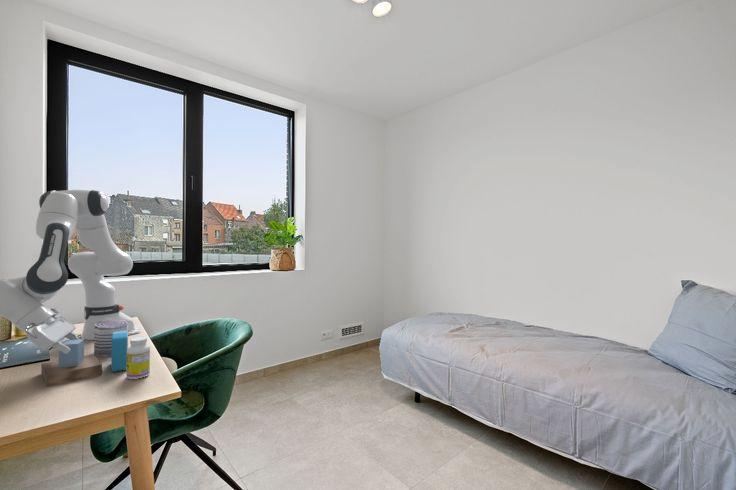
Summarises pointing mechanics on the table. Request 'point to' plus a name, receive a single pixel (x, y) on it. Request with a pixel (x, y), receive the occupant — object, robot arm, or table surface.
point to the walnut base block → (70, 371)
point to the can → (106, 335)
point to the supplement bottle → (138, 358)
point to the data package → (119, 351)
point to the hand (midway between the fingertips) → (74, 347)
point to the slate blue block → (72, 354)
